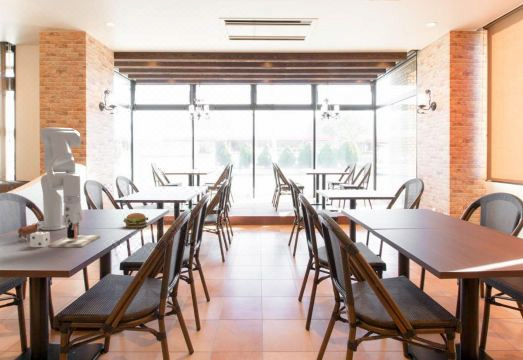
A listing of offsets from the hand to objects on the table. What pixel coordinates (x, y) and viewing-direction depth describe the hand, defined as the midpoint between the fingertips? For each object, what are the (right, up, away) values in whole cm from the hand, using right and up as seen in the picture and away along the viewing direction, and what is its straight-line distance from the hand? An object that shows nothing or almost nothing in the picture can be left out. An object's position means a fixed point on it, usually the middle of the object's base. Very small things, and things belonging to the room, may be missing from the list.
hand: (73, 236), depth 196 cm
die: (-13, -4, -5) cm, 14 cm away
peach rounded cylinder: (0, -1, 0) cm, 1 cm away
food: (+17, 0, +45) cm, 48 cm away
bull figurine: (-25, -3, +7) cm, 26 cm away
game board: (0, -3, +3) cm, 4 cm away
